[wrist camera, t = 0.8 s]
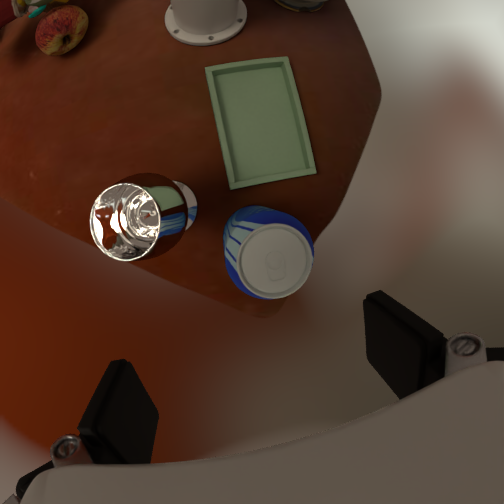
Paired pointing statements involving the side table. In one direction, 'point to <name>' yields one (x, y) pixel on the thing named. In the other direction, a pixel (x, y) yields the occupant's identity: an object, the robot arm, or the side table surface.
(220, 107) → the tray
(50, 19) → the apple
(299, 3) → the apothecary jar
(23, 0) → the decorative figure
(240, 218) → the beer can
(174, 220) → the wineglass
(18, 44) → the side table surface
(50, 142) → the side table surface
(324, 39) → the side table surface
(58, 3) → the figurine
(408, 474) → the robot arm
